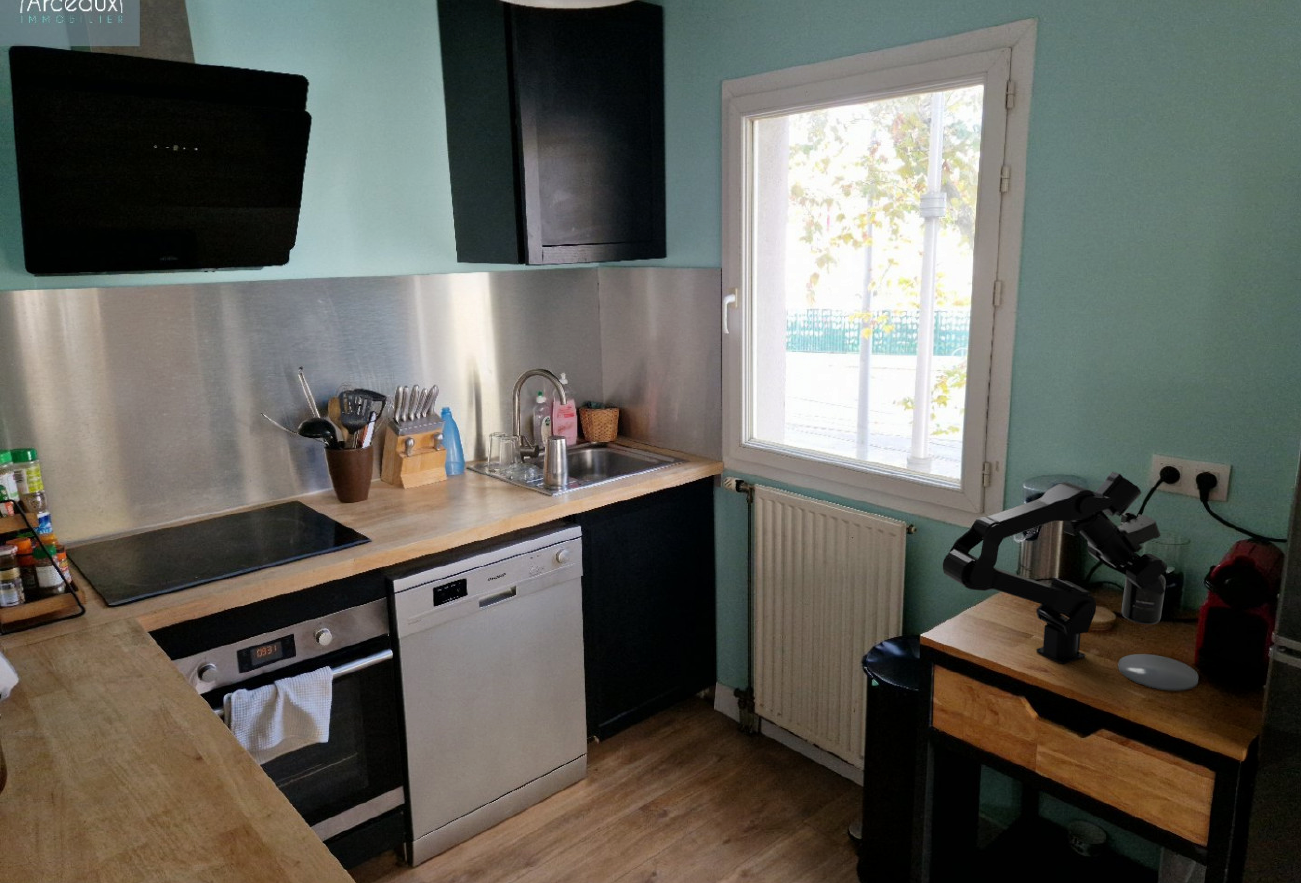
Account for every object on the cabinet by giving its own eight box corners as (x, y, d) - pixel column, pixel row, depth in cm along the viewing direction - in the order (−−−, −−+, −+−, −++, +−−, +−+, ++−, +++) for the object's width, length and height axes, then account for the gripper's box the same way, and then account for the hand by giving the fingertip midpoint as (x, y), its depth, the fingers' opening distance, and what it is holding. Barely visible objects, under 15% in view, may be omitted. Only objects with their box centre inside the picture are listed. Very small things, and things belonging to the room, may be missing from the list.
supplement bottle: (1138, 626, 171) (1145, 567, 169) (1113, 612, 178) (1119, 555, 175) (1169, 623, 173) (1176, 564, 170) (1143, 609, 179) (1150, 553, 176)
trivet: (1167, 697, 158) (1167, 693, 158) (1102, 667, 170) (1103, 663, 169) (1214, 680, 163) (1214, 676, 163) (1148, 652, 175) (1148, 648, 175)
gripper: (1162, 518, 161) (1215, 575, 164) (1108, 491, 179) (1156, 542, 182) (1115, 560, 162) (1167, 616, 165) (1066, 529, 181) (1114, 579, 183)
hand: (1151, 586), depth 174 cm, fingers closed on supplement bottle, 7 cm apart
